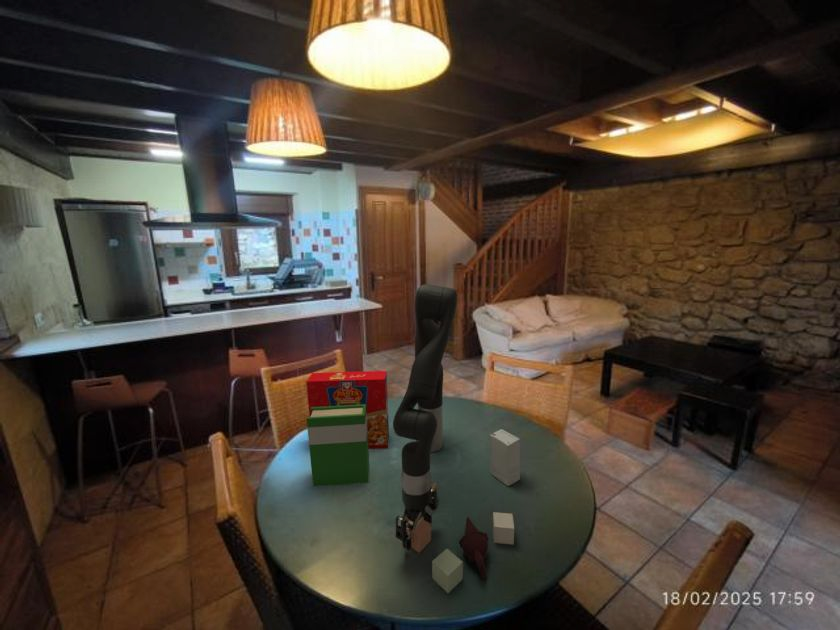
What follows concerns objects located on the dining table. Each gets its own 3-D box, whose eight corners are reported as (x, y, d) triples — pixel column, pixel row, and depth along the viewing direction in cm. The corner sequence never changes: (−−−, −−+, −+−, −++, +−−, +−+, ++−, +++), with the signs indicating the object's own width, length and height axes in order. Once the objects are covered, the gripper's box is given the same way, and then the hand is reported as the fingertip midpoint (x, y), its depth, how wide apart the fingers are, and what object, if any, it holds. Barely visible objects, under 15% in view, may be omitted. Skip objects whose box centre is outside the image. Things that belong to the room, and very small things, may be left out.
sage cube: (432, 578, 85) (432, 561, 84) (447, 565, 88) (447, 548, 87) (447, 593, 81) (447, 575, 80) (462, 579, 84) (462, 561, 83)
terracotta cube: (404, 543, 94) (403, 527, 93) (416, 530, 98) (415, 515, 97) (419, 553, 91) (419, 536, 90) (431, 539, 95) (430, 524, 94)
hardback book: (313, 486, 116) (306, 418, 110) (317, 471, 123) (311, 407, 118) (368, 482, 117) (364, 415, 112) (369, 467, 125) (365, 404, 119)
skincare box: (520, 480, 117) (522, 439, 114) (507, 487, 114) (508, 445, 110) (501, 466, 124) (502, 427, 120) (488, 473, 121) (489, 433, 117)
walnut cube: (415, 504, 108) (415, 489, 106) (421, 493, 112) (421, 479, 111) (431, 509, 106) (430, 494, 105) (436, 497, 110) (436, 483, 109)
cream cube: (493, 542, 94) (494, 526, 93) (492, 527, 99) (493, 512, 98) (513, 544, 93) (514, 528, 92) (511, 529, 98) (512, 513, 97)
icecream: (451, 512, 96) (463, 566, 82) (478, 504, 96) (494, 557, 82) (457, 530, 98) (469, 587, 84) (483, 523, 98) (500, 578, 84)
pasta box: (312, 451, 135) (306, 381, 128) (318, 439, 142) (312, 372, 136) (388, 448, 135) (385, 379, 129) (389, 436, 143) (386, 370, 137)
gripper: (422, 463, 98) (422, 513, 102) (386, 493, 88) (388, 548, 91) (444, 474, 94) (444, 526, 98) (410, 506, 83) (411, 564, 87)
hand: (417, 537), depth 94 cm, fingers open, 8 cm apart
